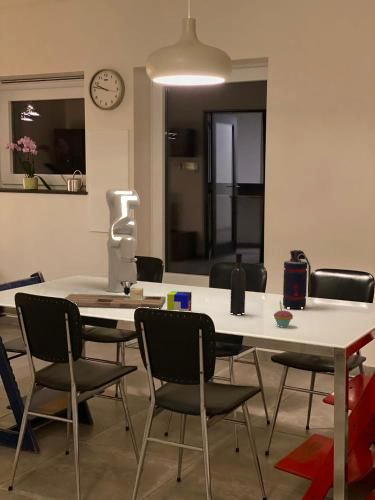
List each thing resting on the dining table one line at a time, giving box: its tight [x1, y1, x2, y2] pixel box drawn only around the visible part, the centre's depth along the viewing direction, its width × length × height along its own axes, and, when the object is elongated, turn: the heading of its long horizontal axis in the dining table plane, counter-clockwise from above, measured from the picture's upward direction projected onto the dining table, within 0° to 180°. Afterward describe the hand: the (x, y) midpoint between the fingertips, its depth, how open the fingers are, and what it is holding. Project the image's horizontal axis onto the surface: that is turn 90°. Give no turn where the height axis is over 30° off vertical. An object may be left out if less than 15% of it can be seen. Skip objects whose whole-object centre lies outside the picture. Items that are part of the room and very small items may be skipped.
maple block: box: [129, 287, 144, 299], centre depth 355 cm, size 6×6×5 cm
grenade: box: [282, 249, 312, 309], centre depth 347 cm, size 14×12×30 cm
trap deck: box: [64, 293, 167, 310], centre depth 352 cm, size 24×52×2 cm, turn 86°
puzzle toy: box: [166, 290, 192, 312], centre depth 329 cm, size 10×10×10 cm
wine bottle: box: [229, 252, 247, 314], centre depth 328 cm, size 6×6×30 cm
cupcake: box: [273, 300, 294, 327], centre depth 303 cm, size 9×8×12 cm
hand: (126, 294), depth 357 cm, fingers closed
